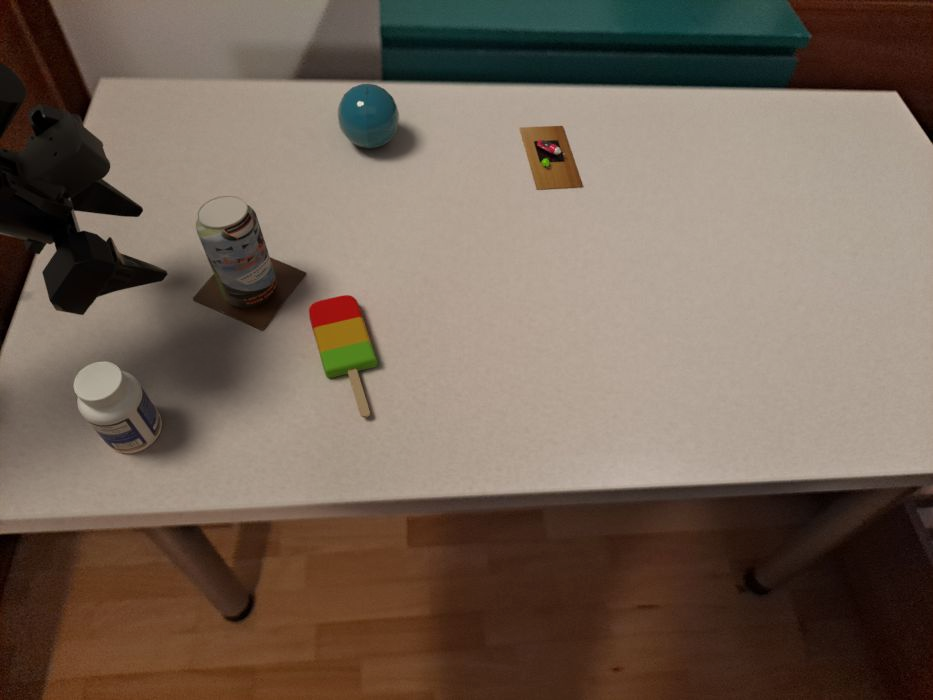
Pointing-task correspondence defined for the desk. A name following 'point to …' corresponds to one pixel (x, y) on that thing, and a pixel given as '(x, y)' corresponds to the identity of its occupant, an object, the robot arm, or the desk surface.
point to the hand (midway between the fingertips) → (152, 243)
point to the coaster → (258, 313)
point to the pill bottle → (117, 407)
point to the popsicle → (343, 342)
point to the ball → (368, 116)
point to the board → (550, 157)
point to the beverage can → (236, 251)
